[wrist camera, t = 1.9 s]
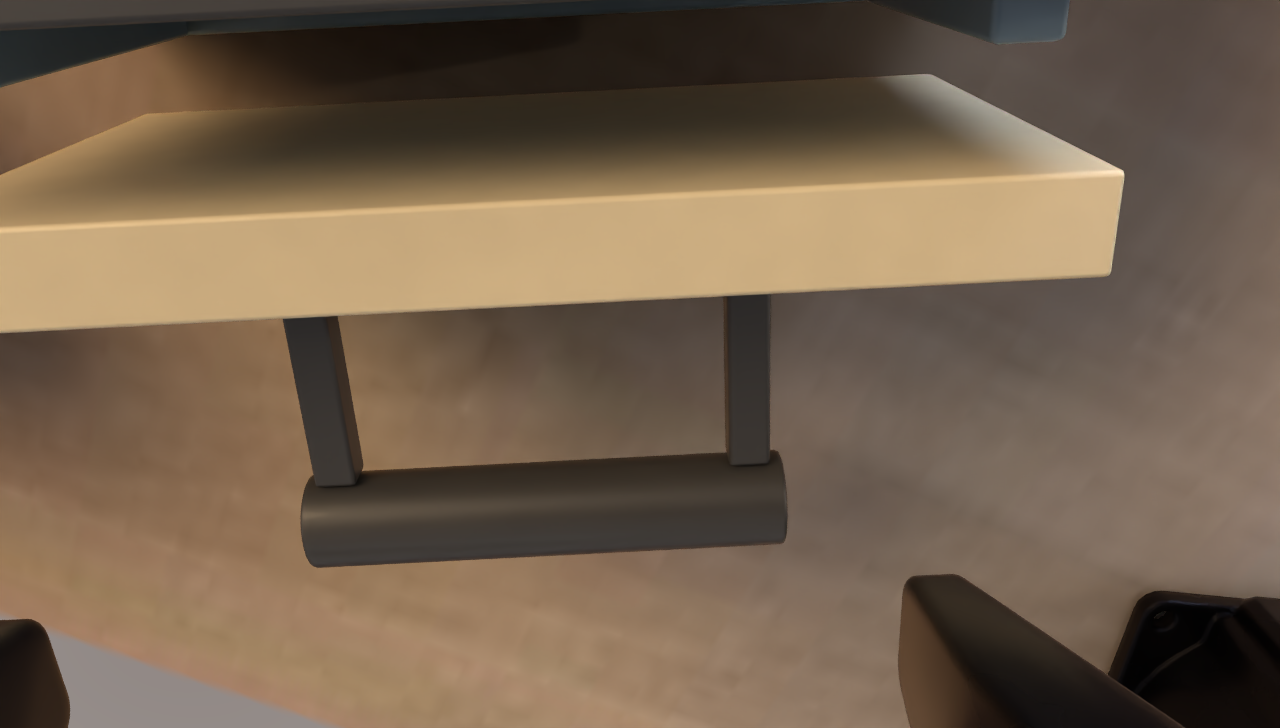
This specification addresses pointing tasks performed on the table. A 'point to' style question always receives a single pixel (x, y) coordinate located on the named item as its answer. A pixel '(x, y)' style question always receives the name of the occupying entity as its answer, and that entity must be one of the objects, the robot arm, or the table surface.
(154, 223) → the drawer
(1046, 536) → the table surface
